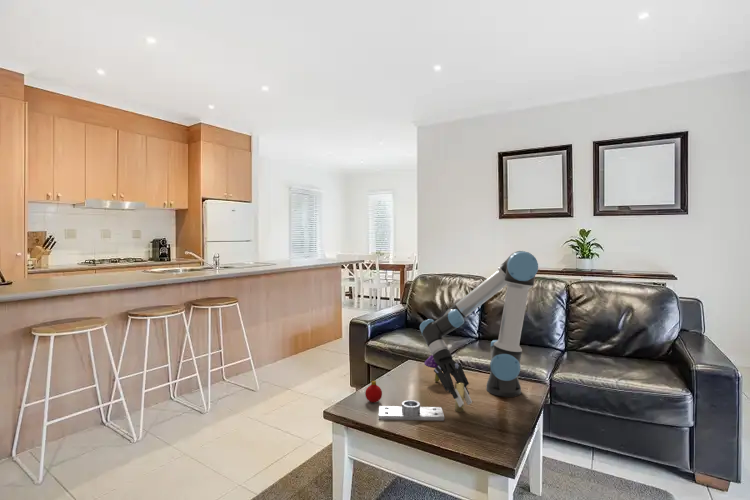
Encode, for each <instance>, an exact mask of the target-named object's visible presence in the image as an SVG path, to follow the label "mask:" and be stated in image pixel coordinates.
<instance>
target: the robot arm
mask: <svg viewBox="0 0 750 500" xmlns="http://www.w3.org/2000/svg"><path fill="white" fill-rule="evenodd" d="M538 272H539V263H538V260H537V258H536V256H535V255H533V254H532V253H531V252H528V251H524V250H518V251H514V252H512V253H511V254H510V255H509V256H508V257H507V258H506V260H504V261H503V263H501V264H500V265H499V266H498V268H497V271H495V272H494V273H492V274H491V275H490V276H489V277H488V278H486V279H485V280H484V281H482V282H481V283H480V284H479V285H477V286H476V287H475V288H473V289H472V290H471V291H470V292H469V293H468V294H467V295H465V296H464V297H463V298H461V299H460V300H459V301H458V302H456V303H455V304H454V305H453V306H451V307H449V308H447V310H446V311H445V312H444V314H443V316H441V317H439V318H438V319H436V320H434V319H432V318H428V319H425V320H423V321H422V322H421V323H420V325H419V330H420V332H421V335H422V337H423V339H424V341H425V343H426V346H427V348H428V350H429V351H430V354H431V355H432V356H433V358H434V360H435V363H436V364H437V367H436V368H433V372H434V373H435V374H437V376H438V378H439V382H440V383H441V385H442V387H443V389H444V391H446V392H447V391H448V393H450V394H451V395H452V398H453V399H454V400H455V399H456V401H457V403H458V405H459V407H461V406H462V405H463V404H464V405H465V403H466V405H467V406H469V405H471V404H472V403H473V401H472V398H471V396H470V392H469V389H468V388H467V386H468V385H469V384H470V382H469V381H468V379H467V378H468V377H467V376H466V374H465V372H464V370H463V367H462V362H459V363H456V362H455V361H454V360H453V356H452V353H451V352H450V350H449V348H448V345H447V344H446V342H445V340H444V338H443V337H445V336H446V335H448V334H449V333H451V332H453V331H454V330H456V329H457V328H460V327H461V326H462V325H463V324H465V318H466V317H468V316H469V315H470V314H472V313H473V312H474V311H475V310H476V309H478V308H479V307H480V306H482V305H483V304H484V303H486V302H487V301H488V300H490V299H491V298H492V297H494V296H495V295H496V294H497V293H499V292H500V291H501V290H503V289H504V288H505V287H506V291H505V292H506V293H505V297H504V303H503V304H504V305H503V311H502V315H501V322H500V326H499V327H500V328H499V332H498V339H493V340H492V341H491V342H490V346H489V347H490V364H489V366H490V374H489V376H488V379H487V382H486V386H485V387H486V391H487V392H488V393H490V394H492V395H495V396H498V397H504V398H510V397H511V398H512V397H513V398H515V397H517V396H520V395H521V394H522V387H521V383H520V380H519V377H518V376H519V374H520V373H521V372H520V371H521V359H522V353H523V349H522V347H521V346H520V341H521V336H522V330H523V326H524V319H525V313H526V307H527V302H528V297H529V290H530V289H531V288H533V287H534V285H535V280H536V274H537V273H538ZM452 377H453V379H454V380H455V382H463V383H464V403H463V400H462V398H461V396H460V394H459V392H458V390H457V388H456V389H455V384H454V382H453V379H452Z"/></svg>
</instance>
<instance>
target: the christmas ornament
mask: <svg viewBox="0 0 750 500" xmlns="http://www.w3.org/2000/svg"><path fill="white" fill-rule="evenodd" d="M370 383H371V384H370V385H369V386H368V387H367V388H366V390H365V394H364V395H365V398H366V400H367V401H369V402H370V403H377V402H379V401H380V400H381V399H382V396H383V391H382V389H381V387H380V386H379V385H377V381H376V379H374V378H372V380H371V382H370Z"/></svg>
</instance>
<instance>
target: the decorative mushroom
mask: <svg viewBox="0 0 750 500" xmlns="http://www.w3.org/2000/svg"><path fill="white" fill-rule="evenodd" d="M423 363H424V365H425V366H426V367H428V368H431V369H432V368H433V369H435V368H436V367H437V364H436V363H435V360H434V358H433V356H432V354H431V355H429V357H428V358H427V359H426V360H424V361H423ZM434 376H435V377H434V382H436V383H437V382H440V379H439V378H438V376H437V374H436V373H435V375H434Z"/></svg>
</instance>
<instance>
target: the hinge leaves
mask: <svg viewBox="0 0 750 500" xmlns="http://www.w3.org/2000/svg"><path fill="white" fill-rule="evenodd" d="M380 419H382V420H387V421H389V420H390V421H392V420H393V421H396V420H397V421H443V422H444V421H445V415H444V411H443V408H442V407H441V406H421V403H420V402H419V401H418V400H412V399H408V400H404V401H402V402H401V406H398V405H396V406H395V405H392V406H391V405H379V406H378V420H380Z"/></svg>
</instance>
